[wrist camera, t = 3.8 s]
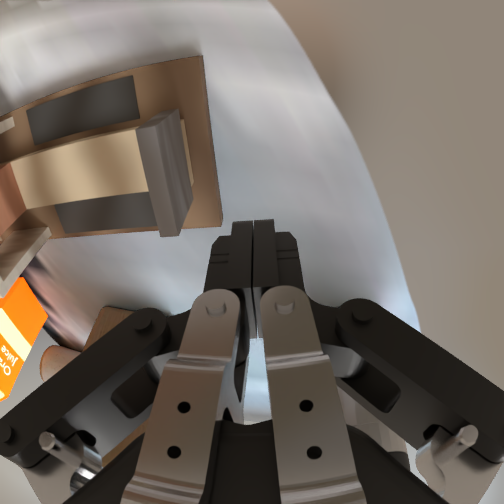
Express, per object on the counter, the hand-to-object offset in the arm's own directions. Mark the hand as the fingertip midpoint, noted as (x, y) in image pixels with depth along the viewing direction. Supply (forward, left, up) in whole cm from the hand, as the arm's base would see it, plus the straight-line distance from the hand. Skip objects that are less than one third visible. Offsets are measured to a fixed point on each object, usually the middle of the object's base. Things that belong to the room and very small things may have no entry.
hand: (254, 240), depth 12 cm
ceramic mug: (+32, +32, -14) cm, 47 cm away
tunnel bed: (+25, 0, -14) cm, 28 cm away
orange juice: (+37, +18, -14) cm, 43 cm away
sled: (+25, 0, -12) cm, 27 cm away
